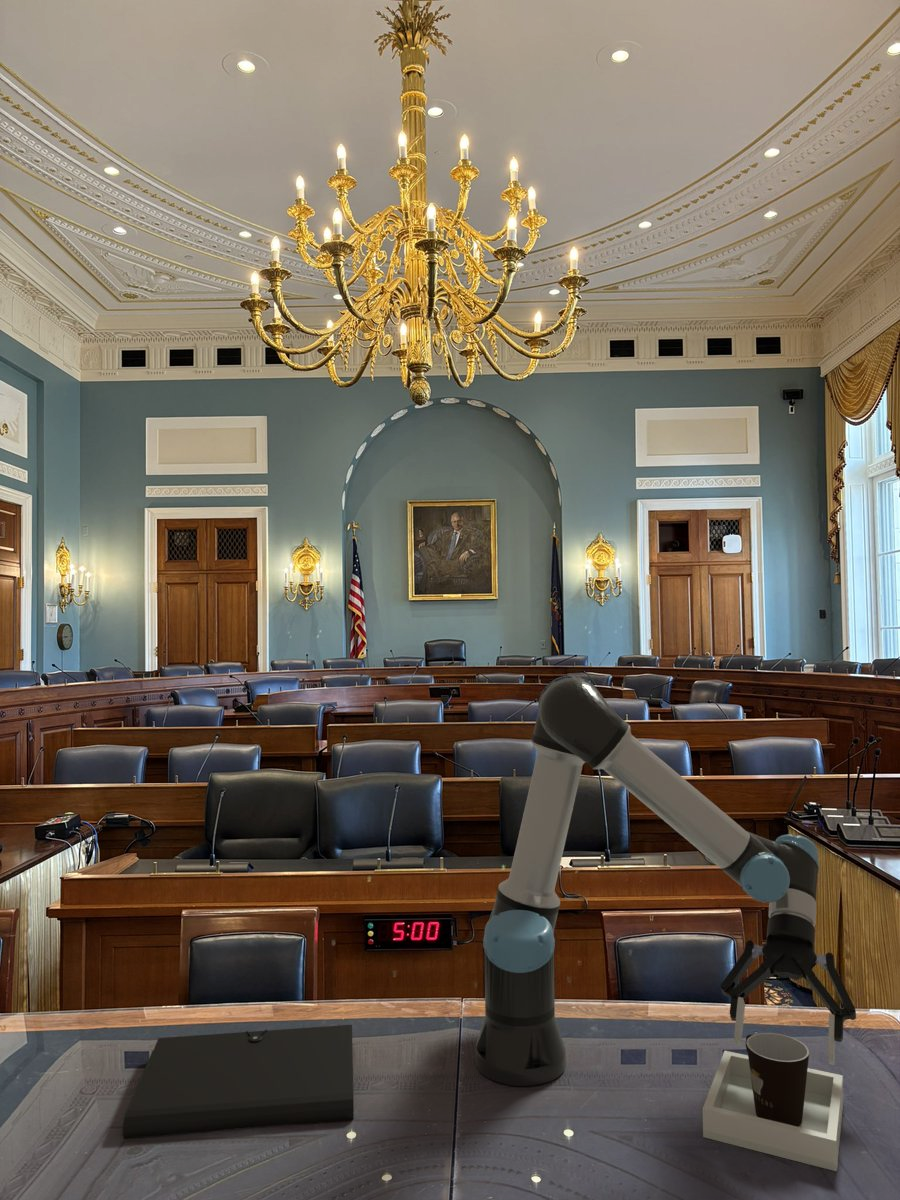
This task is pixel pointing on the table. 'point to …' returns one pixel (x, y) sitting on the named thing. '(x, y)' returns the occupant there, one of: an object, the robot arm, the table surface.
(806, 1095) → the white storage tray
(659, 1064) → the table surface
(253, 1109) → the file folder
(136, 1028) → the table surface
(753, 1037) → the coffee mug
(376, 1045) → the table surface
